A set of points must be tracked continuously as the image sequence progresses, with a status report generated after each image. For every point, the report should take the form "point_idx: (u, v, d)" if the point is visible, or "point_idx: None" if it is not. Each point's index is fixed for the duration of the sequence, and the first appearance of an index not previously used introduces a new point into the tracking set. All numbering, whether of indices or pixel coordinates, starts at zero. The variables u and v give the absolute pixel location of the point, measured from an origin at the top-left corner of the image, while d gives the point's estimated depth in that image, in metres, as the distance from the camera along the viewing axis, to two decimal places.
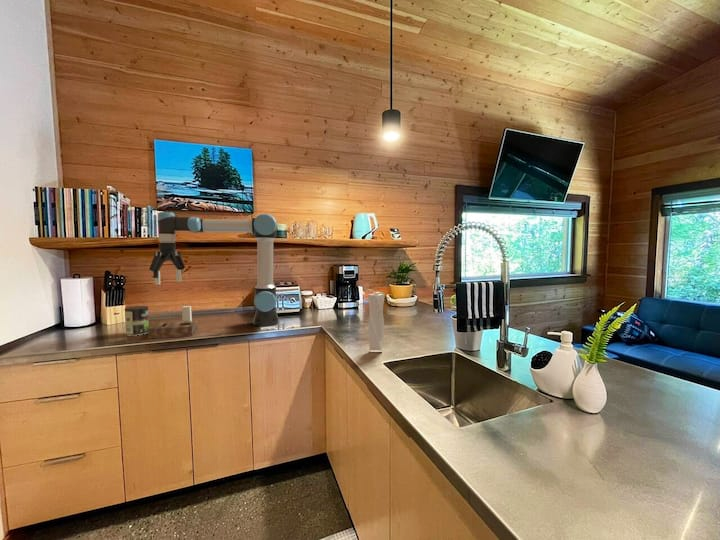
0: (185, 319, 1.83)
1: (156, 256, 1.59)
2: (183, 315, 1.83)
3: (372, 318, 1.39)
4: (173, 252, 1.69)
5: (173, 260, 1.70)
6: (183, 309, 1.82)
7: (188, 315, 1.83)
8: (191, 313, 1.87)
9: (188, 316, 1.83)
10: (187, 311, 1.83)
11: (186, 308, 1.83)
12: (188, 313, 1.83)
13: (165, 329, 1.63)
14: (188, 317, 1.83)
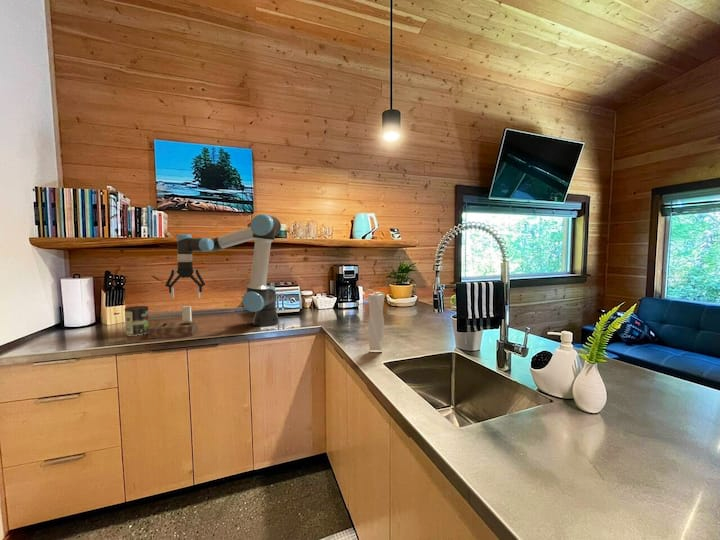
0: (185, 319, 1.83)
1: None
2: (183, 315, 1.83)
3: (372, 318, 1.39)
4: (189, 270, 1.83)
5: None
6: (183, 309, 1.82)
7: (188, 315, 1.83)
8: (191, 313, 1.87)
9: (188, 316, 1.83)
10: (187, 311, 1.83)
11: (186, 308, 1.83)
12: (188, 313, 1.83)
13: (165, 329, 1.63)
14: (188, 317, 1.83)
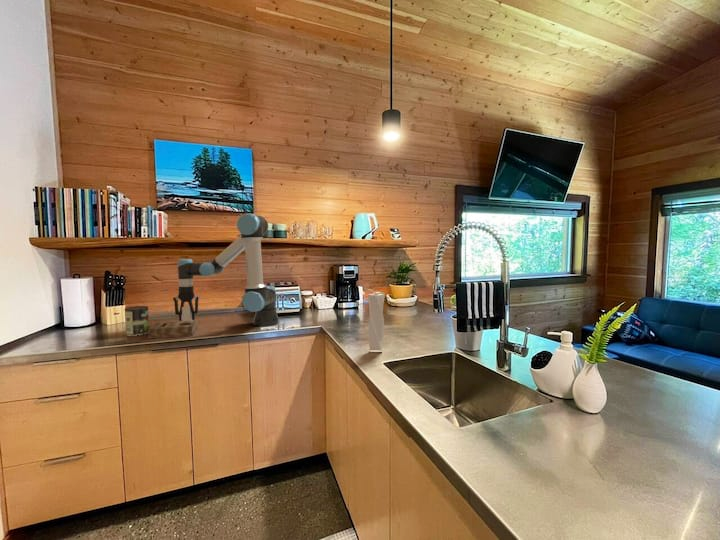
0: (185, 319, 1.83)
1: None
2: (183, 315, 1.83)
3: (372, 318, 1.39)
4: (191, 294, 1.84)
5: None
6: (183, 309, 1.82)
7: (188, 315, 1.83)
8: None
9: (188, 316, 1.83)
10: (187, 311, 1.83)
11: (186, 308, 1.83)
12: (188, 313, 1.83)
13: (165, 329, 1.63)
14: (188, 317, 1.83)
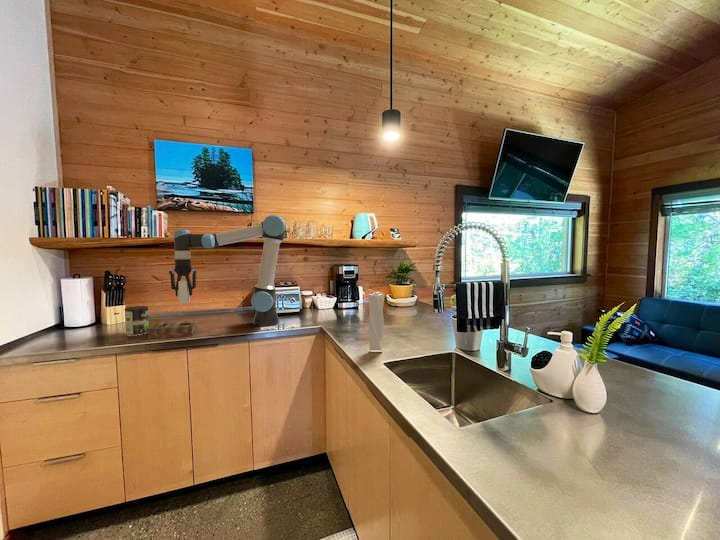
0: (182, 294, 1.71)
1: None
2: (180, 290, 1.71)
3: (372, 318, 1.39)
4: (188, 268, 1.72)
5: None
6: (180, 283, 1.70)
7: (185, 290, 1.71)
8: (188, 288, 1.75)
9: (185, 291, 1.71)
10: (184, 286, 1.71)
11: (183, 282, 1.71)
12: (185, 288, 1.71)
13: (165, 329, 1.63)
14: (185, 292, 1.71)
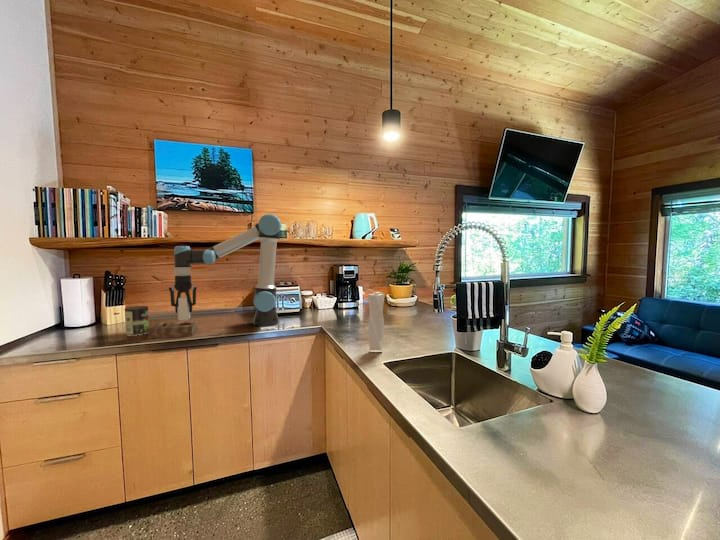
0: (182, 311, 1.69)
1: None
2: (180, 307, 1.68)
3: (372, 318, 1.39)
4: (188, 284, 1.70)
5: None
6: (180, 300, 1.68)
7: (185, 307, 1.69)
8: (188, 305, 1.73)
9: (185, 308, 1.69)
10: (184, 303, 1.69)
11: (183, 299, 1.68)
12: (185, 304, 1.69)
13: (165, 329, 1.63)
14: (185, 309, 1.69)
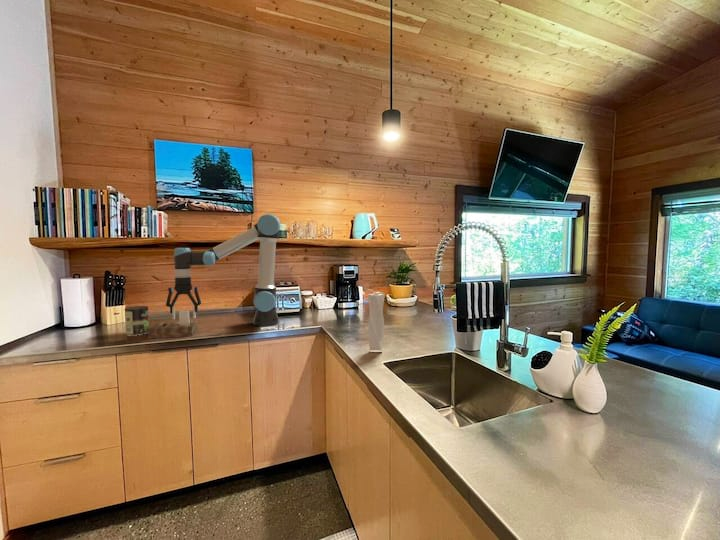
0: None
1: None
2: (180, 320, 1.69)
3: (372, 318, 1.39)
4: (188, 286, 1.70)
5: None
6: (180, 314, 1.69)
7: (186, 320, 1.70)
8: None
9: (185, 322, 1.70)
10: (184, 317, 1.69)
11: (183, 313, 1.69)
12: (186, 318, 1.69)
13: (165, 329, 1.63)
14: (186, 323, 1.70)
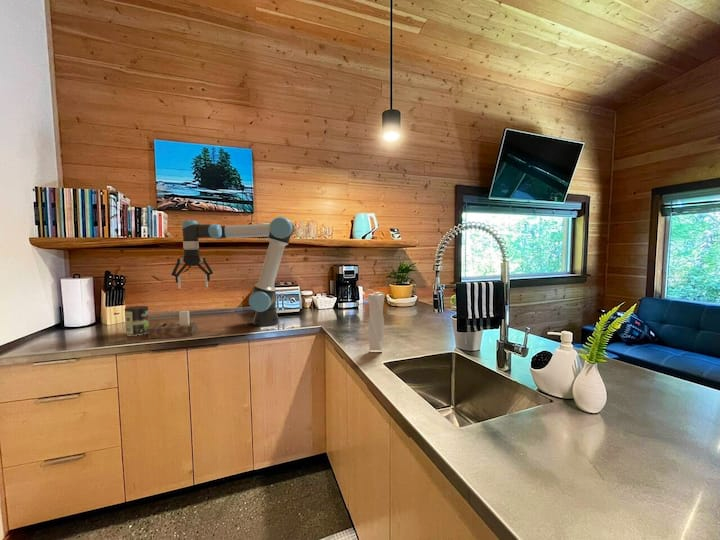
0: None
1: (177, 262, 1.73)
2: (180, 320, 1.69)
3: (372, 318, 1.39)
4: (196, 258, 1.75)
5: None
6: (180, 314, 1.69)
7: (186, 320, 1.70)
8: (189, 318, 1.74)
9: (185, 322, 1.70)
10: (184, 317, 1.69)
11: (184, 313, 1.69)
12: (186, 318, 1.69)
13: (165, 329, 1.63)
14: (186, 323, 1.70)
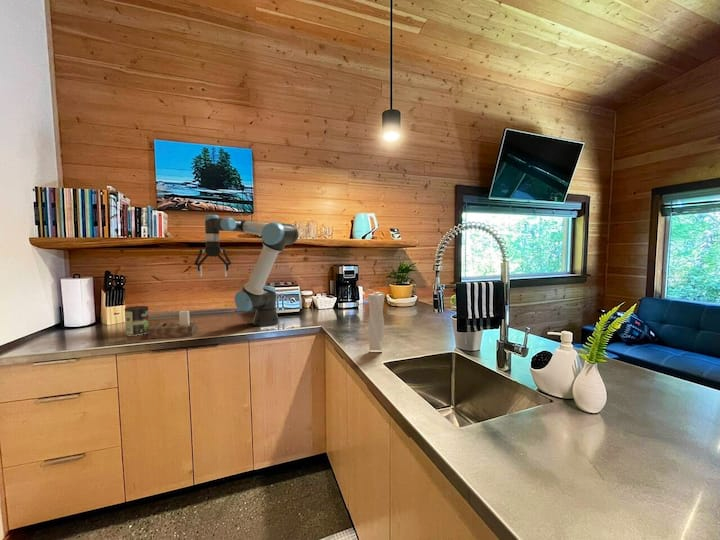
0: None
1: (199, 253, 1.89)
2: (180, 320, 1.69)
3: (372, 318, 1.39)
4: (217, 249, 1.91)
5: None
6: (180, 314, 1.69)
7: (186, 320, 1.70)
8: (189, 319, 1.74)
9: (185, 322, 1.70)
10: (184, 317, 1.69)
11: (184, 313, 1.69)
12: (186, 318, 1.69)
13: (165, 329, 1.63)
14: (186, 323, 1.70)
